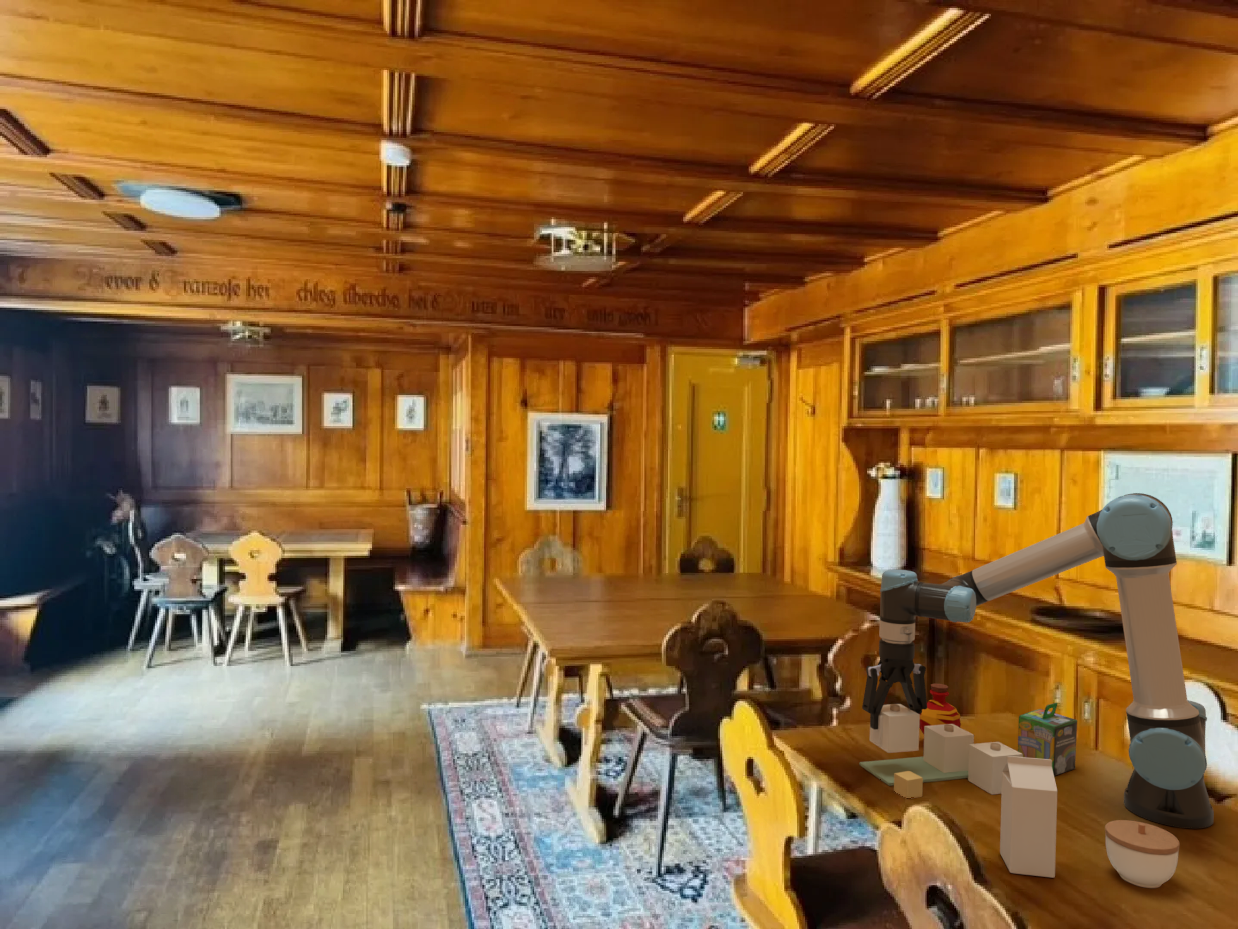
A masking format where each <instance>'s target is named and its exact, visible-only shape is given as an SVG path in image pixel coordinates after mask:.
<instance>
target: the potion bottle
mask: <svg viewBox="0 0 1238 929" xmlns="http://www.w3.org/2000/svg"><path fill="white" fill-rule="evenodd" d="M930 688H931V689H930V690H929V694H930V695H932V699H929V700H928V701H927V709H922V713H921V714H920V720H919V731H921V733H922V735H924V726H932V725H944V724H954V725H956V726H958V727H960V728H962V727H961V726H962V724H961V714H960V713H959V712H958V710H957V708H956V707H955V706H953V705H952V704H950V703H949V702H948V701H946V697H949V695H950V693H949V691H948V689H949V686H948V685H947V684H943V683H932V684H930Z"/></svg>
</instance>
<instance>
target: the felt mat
mask: <svg viewBox="0 0 1238 929" xmlns="http://www.w3.org/2000/svg"><path fill="white" fill-rule="evenodd" d="M859 766H860V767H862V768H864V770H866V771H867V772H868V773H870V774H872V775H873V776H874V777H876V778H877V779H878V780H880V779H881V780H880V781H881V782H883V783H884V784H886V785H888V787H889V786H894V773H899V772H905V771H911V772H913V773H915V774H916V775H918V776H920V777H922V778H923V783H930V782H931V783H933V782H941V781H951V780H961V779H968V771H959V772H949V773H943V772H942V771H940V770H938V769H937V768H935V767H933V766H932V765H930V764H928V763H927V762H925V761H924V756H915V757H904V758H893V759H881V760H871V761H869V760H867V761H860V762H859Z"/></svg>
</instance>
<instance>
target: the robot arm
mask: <svg viewBox="0 0 1238 929" xmlns="http://www.w3.org/2000/svg"><path fill="white" fill-rule="evenodd" d="M1173 523H1174V522H1173V517H1172V514H1171V511H1170V510H1169V508H1168V507H1167V505H1166V504H1165V503H1164V502H1163V501H1162V500H1161V499H1158V498H1157V497H1156V496H1153V495H1150V494H1148V493H1143V492H1142V493H1140V492H1139V493H1138V492H1135V493H1134V492H1133V493H1127V494H1124V495H1121V496H1118V497H1116V498H1114V499H1112V500H1110V501H1109V502H1107V503H1106V505H1104V507H1103V508H1102V509H1100V510H1098V511H1096V512H1094V513H1092V514H1090V515H1087V516H1086V518H1085V520H1084V522H1083V523H1081V524H1079V525H1076V526H1074V527H1072V528H1069V529H1067V530H1065V531H1062V532H1060V533H1057V534H1055V535H1053V536H1050V537H1048V538H1045V539H1044V540H1040V541H1038V542H1036V543H1033V544H1031V545H1028V546H1027V547H1024V548H1022V549H1019V550H1017V551H1014V552H1013V553H1010V554H1008V555H1006V556H1003V557H1001V558H998V559H996V560H994V561H991V562H988V563H986V564H983V565H981V566H979V567H977V568H974V569H973V570H971V571H967V572H965V573H963V574H960V575H957V576H954V577H952V578H950V579H948V580H947V581H945V582H943V583H931V582H924V581H919V579H918V575H917V573H916V572H914V571H911V570H906V569H888V570H884V571H883V572H882V574H881V584H880V590H879V591H880V601H879V604H880V605H879V606H880V607H879V608H880V609H879V610H880V617H879V629H878V630H879V632H878V633H879V635H878V636H879V638H880V639H879V641H878V655H879V656H878V658H879V661H878V663H877V665H874V666H870V665H867V666H866V668H865V670H866V671H865V672H866V681H865V682H866V683H865V688H864V693H863V694H864V695H863V701H862V705H861V706H862V708H861V709H862V710H863V711H865V712H867V713H868V714H870V718H869V727H870V726H871V728H873V742H875V743H876V744H878V745H882V736H883V716H882V715H881V714H880V712H881V710H882V707H883V705H885V702H886V699H887V697H888V693H889V691H890V688H892V687H893V685H894V684H897V683H900V684H901V688H902V691H903V695H904V697H905V699H906V703H907V706H908V708H909V709H910V710H912V711H914V712H916V713H918V714H921V713H922V709H927V702H928V701H927V691H926V680H925V679H926V678H925V675H926V670H927V668H926V666H925V665H922V664H920V663H918V662H917V663H915V662H914V659H915V652H916V651H915V650H916V649H915V647H916V644H915V642H914V641H915V637H916V620H917V618H916V617H920V618H927V619H928V618H929V619H935V620H940V621H948V622H952V623H970V622H972V621H973V619H974V618H975V616H976V615H975V614H976V609H977V607H978V606H980V605H983V604H985V603H988V602H990V601H992V600H995V599H998V598H1000V597H1002V596H1005V595H1008V594H1010V593H1013V592H1016V591H1017V590H1020V589H1023V588H1025V587H1028V586H1030V585H1033V584H1035V583H1038V582H1041V581H1043V580H1046V579H1048V578H1051V577H1053V576H1056V575H1058V574H1061V573H1063V572H1066V571H1069V570H1071V569H1074V568H1077V567H1079V566H1081V565H1084V564H1086V563H1090V562H1091V561H1093V560H1096V559H1100V558H1102V557H1103V558H1104V566H1105V569H1106V570H1108V571H1110V573H1112V574H1114V576H1115V578H1116V579H1115V580H1116V584H1117V591H1118V592H1117V593H1118V599H1119V600H1118V601H1119V607H1120V613H1121V621H1122V628H1123V634H1124V641H1125V649H1126V656H1127V661H1128V662H1127V663H1128V669H1129V676H1130V681H1131V682H1130V683H1131V691H1132V697H1133V698H1132V699H1133V701H1132V702H1131V703H1130V704H1129V705H1128V706H1127V707H1126V708H1125V711H1126V719H1127V725H1128V726H1127V727H1128V734H1129V740H1130V742H1129V746H1128V747H1129V748H1128V756H1129V760H1130V762H1131V764H1132V767H1133V768H1134V769H1133V771H1132V773H1131V776H1130V778H1129V780H1128V783H1127V786H1126V787H1125V790H1124V792H1123V805H1124V807H1125V808H1126V809H1128V811H1130V812H1131V813H1133V814H1135V815H1136V816H1138V817H1140V818H1142V819H1146V820H1149V821H1150V822H1154V823H1158V824H1161V825H1164V826H1165V825H1166V826H1170V827H1175V828H1182V829H1204V828H1209V827H1211V826H1212V825H1213V824H1214V818H1215V817H1214V807H1213V805H1212V804H1211V801H1210V797H1209V794H1208V792H1207V791H1208V790H1207V787H1206V784H1205V773H1206V771H1207V767H1208V760H1207V757H1206V756H1207V755H1206V722H1207V721H1208V717H1207V714H1206V712H1207V711H1206V708H1205V706H1204V705H1203V704H1201V703H1199V702H1196V701H1192V700H1188V695H1187V688H1186V683H1185V682H1186V681H1185V675H1184V669H1183V668H1184V667H1183V662H1182V655H1181V654H1182V653H1181V649H1180V642H1179V640H1180V639H1179V634H1178V633H1179V632H1178V627H1177V622H1176V616H1175V615H1176V614H1175V607H1174V601H1173V594H1172V586H1171V580H1170V572H1171V570H1173V568H1175V567H1176V566H1177V555H1176V549H1175V548H1176V547H1175V543H1174V542H1175V540H1174V535H1173V526H1174V525H1173ZM912 673H913V674H912ZM911 674H912V676H913V680H912V679H911ZM879 676H880V677H879ZM878 679H879V680H878ZM878 682H879V684H878ZM913 686H914V687H913Z"/></svg>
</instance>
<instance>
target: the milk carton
mask: <svg viewBox="0 0 1238 929" xmlns="http://www.w3.org/2000/svg"><path fill="white" fill-rule="evenodd" d="M1000 797H1001V803H1000V807H1001V808H1000V837H999V838H1000V841H999V853H1000V855H1001V858H1002V859H1003V862H1004V863H1005V865H1006V867H1007V870H1008V871H1009V873H1011V874H1017V875H1026V876H1036V877H1045V878H1056V877H1055V876H1056V854H1057V853H1056V849H1057V848H1056V846H1057V816H1058V815H1057V813H1058V812H1057V809H1058V788H1057V784H1056V779H1055V776H1054V774H1053V770H1052V760H1050V759H1038V758H1026V757H1014V756H1008V757H1007V764H1006V765H1005V767H1004V769H1003V771H1002V794H1001V796H1000Z"/></svg>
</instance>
